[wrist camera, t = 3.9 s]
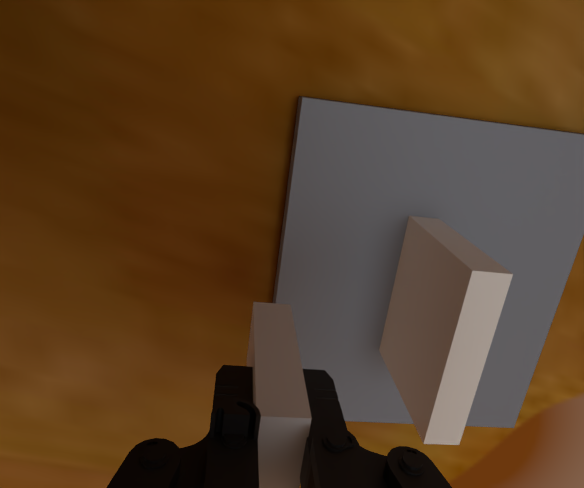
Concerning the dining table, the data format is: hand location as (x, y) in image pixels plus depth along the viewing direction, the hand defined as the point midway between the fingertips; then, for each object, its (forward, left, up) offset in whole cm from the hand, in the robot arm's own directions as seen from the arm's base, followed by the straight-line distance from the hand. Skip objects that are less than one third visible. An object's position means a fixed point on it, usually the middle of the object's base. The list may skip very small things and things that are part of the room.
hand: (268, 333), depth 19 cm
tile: (0, +8, -5) cm, 9 cm away
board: (0, +9, -7) cm, 11 cm away
